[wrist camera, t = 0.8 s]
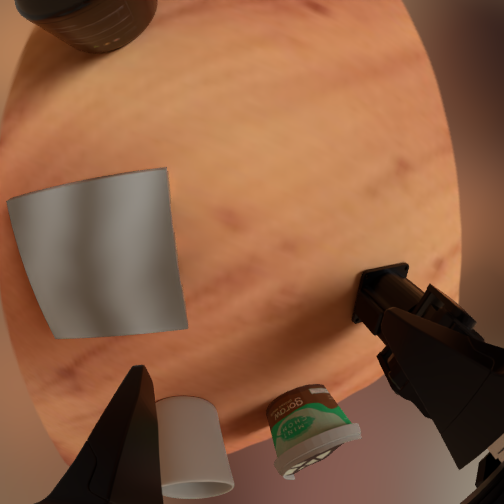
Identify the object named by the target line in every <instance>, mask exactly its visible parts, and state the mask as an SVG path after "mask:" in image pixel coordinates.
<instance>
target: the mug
mask: <svg viewBox="0 0 504 504" xmlns="http://www.w3.org/2000/svg"><path fill="white" fill-rule="evenodd" d="M155 404H156V411H157V419H158V433H159V457H160V472H161V484H162V495H164V496H167V497H173V498H184V499H196V498H206V497H213V496H217V495H221V494H224V493H227V492H229V491H230V490H232V489H233V487H234V482H233V477H232V474H231V470H230V466H229V462H228V459H227V454H226V450H225V446H224V442H223V438H222V433H221V429H220V424H219V418H218V414H217V410H216V408H215V407H214V406H213V405H212V404H211V403H210V402H208V401H206V400H204V399H201V398H197V397H192V396H174V397H169V398H165V399H162V400H160V401H158V402H156V403H155Z"/></svg>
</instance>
